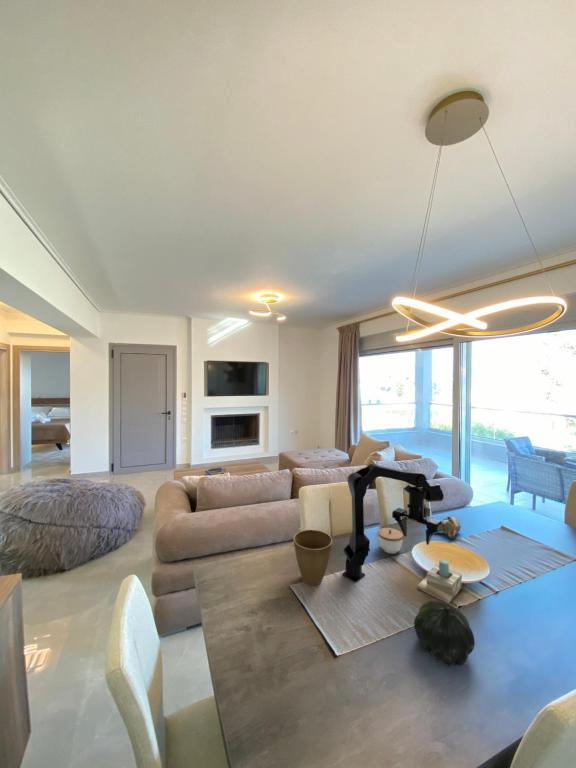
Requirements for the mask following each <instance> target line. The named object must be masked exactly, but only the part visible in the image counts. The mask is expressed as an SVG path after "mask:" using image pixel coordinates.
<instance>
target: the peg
mask: <svg viewBox="0 0 576 768" xmlns="http://www.w3.org/2000/svg"><path fill="white" fill-rule="evenodd" d="M438 565H439V575H440V576H442V577H444V578H447V579H449V569H450V567H449V565H450V564H449V562H448V561H447V560H443V559H442V560H439V562H438Z"/></svg>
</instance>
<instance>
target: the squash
mask: <svg viewBox="0 0 576 768" xmlns="http://www.w3.org/2000/svg"><path fill="white" fill-rule="evenodd" d="M413 624H414V625H413V626H414V627H413V628H414V631H415V634H416V636H417V638H418V639H419V641H420V642H421V645H422V647H423V648H424V650H425V651H426V652H428V653H431V655H432V656H433V657H435V658H438V659H439V658H440V659H441V661H442V662H443V664H445V665H447V666H448V667H449V666H452V665H453V664H455V665H458V666H459V665H462V664H465V663H466V662H467V660H468V657H469V655H470V654H472V652H473V651H474V649H475V644H476V642H475V641H476V640H475V637H474V633H473V630H472V628H471V626H470V623H469V621H468V619H467V617H466V615H465V614H464V613H463V612H462V611H461V610H459V608H456V607H455V606H453V605H452V604H450V603H449V604H448V603H446V602H444V601H442V600H429V601H425V602H423V603H422V604H421V606H420V608H419V610H418V612H417V614H416V616H415V618H414V621H413Z"/></svg>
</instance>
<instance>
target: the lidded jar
mask: <svg viewBox="0 0 576 768" xmlns="http://www.w3.org/2000/svg"><path fill="white" fill-rule="evenodd" d="M377 535H378V538H377V539H378V544H379V546H380V547H381V549H382V550H383V551H384V552H385V553H388V554H393V555H394V554H397V553H398V552H399V551H400V550H401V549H402V546H403V537H404V534H403V532H402V531H400V530H398V529H396V528H391V527H383V528H380V529H378V531H377Z"/></svg>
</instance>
